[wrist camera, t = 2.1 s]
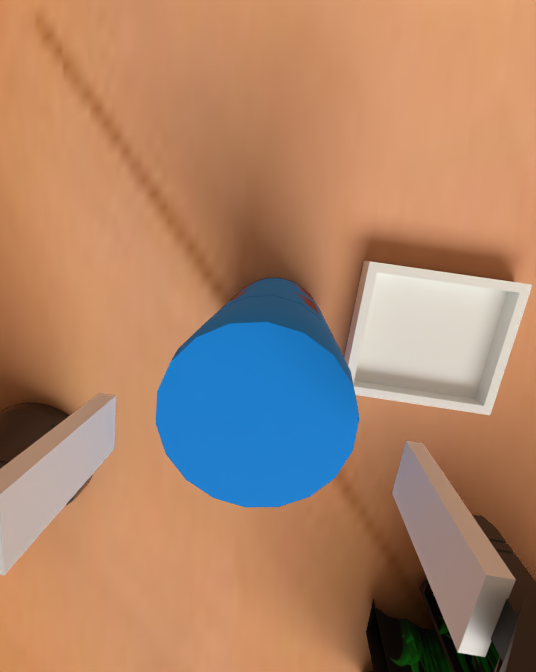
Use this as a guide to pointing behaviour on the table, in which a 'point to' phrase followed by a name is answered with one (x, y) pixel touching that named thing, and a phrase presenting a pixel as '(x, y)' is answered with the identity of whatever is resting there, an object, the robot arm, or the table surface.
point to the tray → (432, 336)
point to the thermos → (259, 400)
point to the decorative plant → (420, 645)
